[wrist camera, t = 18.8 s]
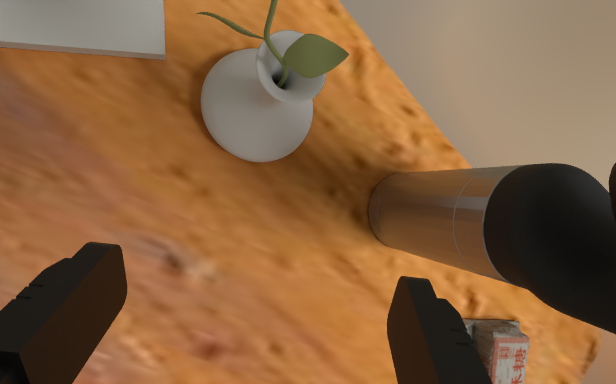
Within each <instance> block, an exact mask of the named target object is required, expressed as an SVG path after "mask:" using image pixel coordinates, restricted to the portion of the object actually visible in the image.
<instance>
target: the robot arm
mask: <svg viewBox="0 0 616 384" xmlns="http://www.w3.org/2000/svg"><path fill="white" fill-rule="evenodd" d="M368 215H369V222H370V225H371V228H372V230H373V232H374V234H375V236H376V237H377V238H378V239H379V240H380V241H381V242H382V243H384V244H385V245H386V246H389V247H391V248H394V249H398V250H401V251H404V252H407V253H410V254H413V255H417V256H420V257H423V258H426V259H430V260H433V261H436V262H440V263H443V264H446V265H449V266H453V267H456V268H459V269H463V270H466V271H469V272H473V273H476V274H479V275H483V276H486V277H490V278H493V279H496V280H499V281H503V282H506V283H509V284H513V285H516V286H519V287H522V288H525V289H528V290H529V291H531V292H532V293H533V294H534V295H535V296H536V297H538V298H539V299H540V300H541V301H543V302H544V303H545V304H547V305H548V306H550V307H552V308H554V309H555V310H557V311H559V312H562V313H564V314H566V315H569V316H571V317H573V318H576V319H579V320H581V321H584V322H586V323H589V324H591V325H594V326H596V327H599V328H602V329H604V330H607V331H609V332H611V333H614V334H616V163H615V164H614V166H613V168H612V170H611V174H610V177H609V192H608V191H607V190H606V189H605V188H604V187H603V186H602V185H601V184H600V183H599V182H598V181H597V180H596V179H595V178H594V177H592V176H591V175H590V174H588V173H587V172H585V171H583V170H582V169H579V168H577V167H574V166H571V165H567V164H558V163H549V164H548V163H546V164H532V165H516V166H502V167H489V168H472V169H457V170H441V171H426V172H408V173H397V174H393V175H390V176H388V177H387V178H385V179H384V180H382V181H381V182H380V183H379V184H378V186H377V187H376V188H375V189H374V192H373V194H372V196H371V198H370V202H369V209H368ZM126 296H127V281H126V274H125V267H124V260H123V254H122V249H121V247H120V246H119V245H116V244H107V243H97V242H88V243H86V244H85V245H84V246H83V247H82V248H81V249H80V250H79V251H78V252H77V253H76V254H75V255H74V256H73V257H72V258H64V259H62V260H61V261H59V262H57V263H55V264H53V265H52V266H50V267H48V268H46V269H44V270H43V271H42V272H41V273H40V274H39V275H38V276H37V277H36V278H35V279H34V280H33V281H32V282H31V283H30V284H29V287H25V288H24V289H23V290H22V291H21V292H20V293H19V294H18V295H17V296H16V299H13V300H11V301H10V302H9V303H8V304H7V305H6V306H5V307H4V308H3V309H2V310H1V311H0V384H72V383H73V382H74V380H75V379H76V377H77V375H78V374H79V372H80V371H81V369H82V368H83V366H84V365H85V363H86V362H87V360H88V359H89V357H90V356H91V354H92V353H93V351H94V350H95V348H96V347H97V345H98V344H99V342H100V341H101V339H102V338H103V336H104V335H105V333H106V332H107V330H108V329H109V327H110V326H111V324H112V323H113V321H114V320H115V318H116V317H117V315H118V313H119V312H120V310H121V309H122V307H123V305H124V303H125V300H126ZM387 335H388V340H389V345H390V349H391V354H392V359H393V363H394V368H395V372H396V377H397V381H398V384H493V383H492V381H491V379H490V376H489V374H488V372H487V370H486V368H485V366H484V364H483V362H482V360H481V357H480V355H479V353H478V351H477V349H476V348H475V347H474V343H473V341H472V339H471V336H470V334H469V333H467V328H466V326H465V324H464V322H463V320H462V318H461V315H460V314H459V312H458V311H457V310H456V309H455V308H454V307H453V306H452V305H451V304H450V303H449V302H448V301H447V300H446V299H440V298H437V297H436V295H435V292H434V290H433V287H432V285H431V283H430V281H429V280H428V279H424V278H415V277H406V276H401V277H400V278H399V280H398V283H397V287H396V290H395V293H394V297H393V300H392V303H391V307H390V310H389V314H388V319H387Z"/></svg>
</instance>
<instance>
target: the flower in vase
mask: <svg viewBox="0 0 616 384" xmlns="http://www.w3.org/2000/svg"><path fill="white" fill-rule="evenodd" d="M277 1H278V0H272V1H271V5H270V9H269V13H268V17H267V20H266V24H265V29H264V38H262V37H260V36H257V35H255V34H253V33H251V32H249V31H247V30H245V29H243V28H242V27H240V26H238V25H236V24H235V23H233V22H231V21H229V20H227V19H225V18H222V17H220V16H218V15H215V14H213V13H208V12H200V13H196V14H203V15H208V16H211V17H214V18H216V19H218V20H220V21H222V22H223V23H225V24H226V25H228V26H229V27H231V28H232V29H234V30H235V31H237V32H239V33H241V34H244V35H247V36H250V37H255V38H259V39H263V40H264V41H263V42H262V43H261V45H260V47H259V49H255V48H249V49H242V50H238V51H235V52H232V53H230V54H228V55H226V56H225V57H223V58H222V59H220V60H219V61H218V62H217V63H216V64H215V65H214V66H213V67H212V68H211V70H210V71H209V73H208V74H207V76H206V79H205V81H204V84H203V87H202V92H201V111H202V116H203V119H204V122H205V124H206V127H207V129H208V131H209V132H210V134H211V135H212V137H213V138H214V140H215V141H216V142H217V143H218V144H219V145H220V146H221V147H222V148H224V149H225V150H226V151H227V152H229V153H231V154H232V155H234V156H236V157H238V158H240V159H244V160H247V161H252V162H270V161H275V160H278V159H281V158H283V157H285V156H287V155H289V154H290V153H292V152H293V151H294V150H295V149H297V148H298V147H299V146H300V144H301V143H302V142H303V141H304V139H305V137H306V136H307V134H308V132H309V129H310V126H311V123H312V117H313V101H312V99H313V98H314V97H315V96H316V95H317V94H318V93H319V92H320V91H321V89H322V87H323V85H324V82H325V79H326V73H327V72H328V71H330V70H332V69H333V68H335V67H336V66H337V65H339V64H340V63H341V62H342V61H343V60H345V59H346V58H347V57H348V55H349V53H348V52H346V51H345V50H344V49H342V48H341V47H340V46H338V45H336V44H335V43H333V42H331V41H330V40H328V39H326V38H323V37H321V36H318V35H315V34H306V35H304V34H302V33H300V32H297V31H292V30H282V31H278V32H275V33H273V34H271V35H269V33H270V27H271V23H272V20H273V16H274V13H275V9H276V5H277Z"/></svg>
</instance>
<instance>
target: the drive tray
mask: <svg viewBox="0 0 616 384" xmlns="http://www.w3.org/2000/svg"><path fill="white" fill-rule="evenodd" d="M0 47H4V48H17V49H30V50H43V51H56V52H69V53H82V54H94V55H107V56H120V57H133V58H146V59H159V60H166V42H165V15H164V0H0Z"/></svg>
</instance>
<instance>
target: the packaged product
mask: <svg viewBox="0 0 616 384" xmlns="http://www.w3.org/2000/svg"><path fill="white" fill-rule="evenodd" d="M462 320H463V322H464V324H465V326H466V328H467V333H469V334H470V336H471V339H472V341H473V343H474V347H475V348H476V349H477V351H478V353H479V355H480V357H481V360H482V362H483V364H484V366H485V368H486V370H487V372H488V374H489V376H490V379H491V381H492V383H493V384H524V378H525V369H526V361H527V354H528V348H529V337H528V336H527V335H525V334H523V333H521V330H520V329H519V325H520V322H518V321H507V320H475V319H462Z"/></svg>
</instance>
